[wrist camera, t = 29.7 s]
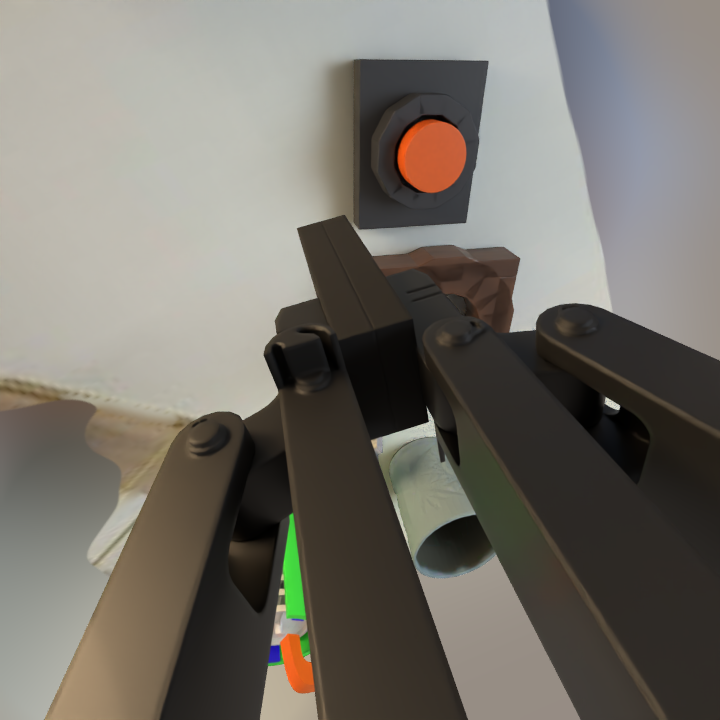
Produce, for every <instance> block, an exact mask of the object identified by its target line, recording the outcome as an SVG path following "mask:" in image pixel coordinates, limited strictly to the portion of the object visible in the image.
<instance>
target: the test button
mask: <svg viewBox="0 0 720 720" xmlns="http://www.w3.org/2000/svg"><path fill="white" fill-rule="evenodd" d="M465 161H466V145H465V141H464V138H463V136H462V135H461V133H460V132H459V130H458V129H457V128H455V127H454V126H453V125H451V124H449V123H446V122H442V121H439V120H434V119H427V120H423V121H420V122H418V123H416V124H414V125H413V126H412V127H410V128H409V129H408V130H407V132H406V133H405V134H404V136H403V137H402V139H401V142H400V144H399V147H398V152H397V163H398V168H399V171H400V173H401V175H402V176H403V178H404V179H405V180H406V181H407V182H408V183H409V184H411V185H412V186H414V187H415V188H417V189H418V190H420V191H422V192H426V193H436V192H440V191H443V190H445V189H446V188H448V187H449V186H451V185H452V184H453V183H454V182H455V181H456V180H457V179H458V177H459V176H460V174H461V172H462V170H463V168H464V165H465Z"/></svg>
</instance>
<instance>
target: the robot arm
mask: <svg viewBox="0 0 720 720" xmlns="http://www.w3.org/2000/svg"><path fill="white" fill-rule="evenodd" d="M297 230H298V234H299V237H300V240H301V244H302V247H303V251H304V254H305V257H306V261H307V264H308V267H309V271H310V274H311V278H312V281H313V284H314V288H315V291H316V294H317V298H316V299H313V300H309V301H306V302H302V303H299V304H296V305H292V306H289V307H285V308H282V309H281V310H280V312H279V314H278V316H277V318H276V320H275V325H276V332H277V335H276V336H275V337H273V338H272V339H271V340H270V342H269V343H268V344H267V345H266V347H265V351H264V357H265V360H266V362H267V364H268V367H269V369H270V372H271V374H272V376H273V379H274V381H275V384H276V386H277V388H278V393H279V394H278V395H277V396H276V398H275V399H274V400H273V401H272V402H271V403H270V404H269V405H268V406H266V407H265V408H263V409H262V410H260V411H259V412H257V413H255V414H253V415H252V416H250V417H248V418H246V419H245V420H242V419H241V417H240V416H239V415H237V414H234V413H232V412H215V413H211V414H208V415H204V416H202V417H200V418H198V419H197V420H195V421H193V422H191V423H190V424H188V425H187V426H186V427H185V428H184V429H183V430H182V431H180V432H179V434H178V435H177V436H176V438H175V439H174V441H173V442H172V444H171V446H170V448H169V450H168V453H167V455H166V457H165V459H164V461H163V463H162V466H161V468H160V470H159V472H158V474H157V476H156V479H155V481H154V483H153V485H152V487H151V489H150V492H149V494H148V496H147V498H146V500H145V502H144V505H143V507H142V509H141V511H140V513H139V515H138V518H137V520H136V522H135V524H134V526H133V528H132V531H131V533H130V535H129V537H128V539H127V541H126V544H125V546H124V548H123V550H122V552H121V554H120V557H119V559H118V561H117V563H116V565H115V567H114V570H113V572H112V574H111V576H110V578H109V580H108V583H107V585H106V587H105V589H104V592H103V593H102V596H101V598H100V600H99V602H98V604H97V607H96V609H95V611H94V613H93V615H92V617H91V619H90V622H89V624H88V626H87V628H86V630H85V633H84V635H83V637H82V639H81V641H80V643H79V646H78V648H77V650H76V652H75V654H74V657H73V659H72V661H71V663H70V665H69V667H68V670H67V672H66V674H65V676H64V678H63V680H62V682H61V685H60V687H59V689H58V691H57V693H56V695H55V698H54V700H53V702H52V704H51V706H50V708H49V711H48V713H47V715H46V717H45V719H44V720H260V713H261V707H262V700H263V694H264V688H265V680H266V675H267V668H268V661H269V655H270V648H271V642H272V635H273V629H274V622H275V616H276V609H277V602H278V596H279V589H280V583H281V576H282V570H283V563H284V557H285V550H286V543H287V537H288V530H289V524H290V517H289V515H291V514H292V513H293V516H294V524H295V532H296V541H297V549H298V557H299V565H300V573H301V581H302V590H303V598H304V606H305V614H306V622H307V631H308V639H309V647H310V655H311V663H312V672H313V680H314V688H315V696H316V704H317V713H318V720H468V719H467V716H466V713H465V710H464V707H463V704H462V701H461V699H460V696H459V693H458V690H457V687H456V684H455V681H454V678H453V675H452V672H451V670H450V667H449V664H448V661H447V658H446V655H445V652H444V650H443V646H442V644H441V641H440V638H439V635H438V632H437V629H436V626H435V623H434V620H433V618H432V615H431V612H430V609H429V606H428V603H427V600H426V597H425V595H424V592H423V589H422V586H421V583H420V580H419V577H418V574H417V571H416V569H415V566H414V563H413V560H412V557H411V554H410V551H409V548H408V546H407V543H406V540H405V537H404V534H403V531H402V528H401V525H400V522H399V520H398V517H397V514H396V511H395V508H394V505H393V502H392V499H391V497H390V494H389V491H388V488H387V485H386V482H385V479H384V476H383V473H382V471H381V468H380V465H379V462H378V459H377V456H376V453H375V450H374V448H373V445H372V442H371V440H373V439H376V438H380V437H383V436H386V435H389V434H392V433H395V432H399V431H402V430H405V429H408V428H411V427H414V426H418V425H421V424H424V423H427V422H429V420H428V413H427V408H428V410H429V412H430V413H431V415H432V417H433V419H434V424H435V431H436V438H437V445H438V452H439V457H440V462H441V463H442V462H445V455H446V457H447V459H448V461H449V463H450V465H451V467H452V469H453V471H454V473H455V475H456V477H457V479H458V481H459V482H460V484H461V486H462V488H463V490H464V492H465V494H466V496H467V498H468V500H469V502H470V504H471V506H472V508H473V510H474V512H475V514H476V516H477V518H478V520H479V522H480V524H481V525H482V527H483V529H484V531H485V533H486V535H487V537H488V539H489V541H490V543H491V545H492V547H493V549H494V551H495V553H496V555H497V557H498V558H499V561H500V563H501V565H502V566H503V568H504V570H505V572H506V574H507V576H508V578H509V580H510V582H511V584H512V586H513V587H514V590H515V592H516V594H517V596H518V598H519V600H520V602H521V604H522V606H523V608H524V610H525V611H526V613H527V615H528V617H529V619H530V621H531V623H532V625H533V627H534V629H535V631H536V633H537V635H538V637H539V639H540V641H541V643H542V645H543V647H544V649H545V651H546V652H547V654H548V656H549V658H550V660H551V662H552V664H553V666H554V668H555V670H556V672H557V674H558V676H559V678H560V680H561V682H562V684H563V686H564V688H565V690H566V691H567V693H568V695H569V697H570V699H571V701H572V703H573V705H574V707H575V709H576V711H577V713H578V715H579V717H580V719H581V720H720V361H719V360H717V359H715V358H712V357H710V356H708V355H706V354H703V353H701V352H699V351H697V350H694V349H692V348H690V347H688V346H685V345H683V344H681V343H679V342H676V341H674V340H672V339H670V338H667V337H665V336H663V335H661V334H658V333H656V332H654V331H652V330H649V329H647V328H645V327H643V326H640V325H638V324H636V323H634V322H631V321H629V320H627V319H625V318H622V317H620V316H618V315H616V314H613V313H611V312H609V311H607V310H604V309H602V308H598V307H595V306H592V305H586V304H577V303H573V304H564V305H558V306H555V307H552V308H549V309H547V310H546V311H544V312H543V313H542V314H540V315H539V317H538V320H537V322H536V330H533V331H523V332H512V333H497V332H495V331H494V330H493V328H492V327H491V326H490V325H489V324H487V323H486V322H484V321H483V320H481V319H478V318H474V317H470V316H463V315H462V314H461V313H460V312H459V311H458V309H457V308H456V307H455V306H454V305H453V304H452V302H451V301H450V300H449V299H448V298H447V297H446V295H445V294H444V293H442V291H441V290H440V288H439V287H438V286H437V285H436V284H435V283H434V281H433V280H432V279H431V278H430V277H429V276H428V274H425V273H423V272H420V271H418V270H415V269H410V270H406V271H403V272H400V273H396V274H393V275H389V276H386V277H385V275H384V274H383V272H382V271H381V269H380V268H379V266H378V265H377V263H376V262H375V260H374V259H373V257H372V256H371V254H370V253H369V251H368V250H367V248H366V247H365V245H364V244H363V242H362V241H361V239H360V238H359V236H358V235H357V233H356V231H355V230H354V228H353V227H352V225H351V224H350V222H349V221H348V219H347V218H346V216H345V215H342V216H339V217H335V218H332V219H328V220H324V221H321V222H317V223H314V224H310V225H307V226H303V227H300V228H297ZM606 397H607V398H609V399H610V400H612V401H614V402H615V403H617V404H619V405H620V410H615V409H613V408H611V407H609V406H607V405H606V404H604V403H605V398H606ZM426 406H427V407H426Z"/></svg>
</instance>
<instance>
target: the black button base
mask: <svg viewBox="0 0 720 720" xmlns="http://www.w3.org/2000/svg"><path fill="white" fill-rule="evenodd" d="M487 69H488V61H455V60H367V59H359V60H354V223H355V225H356V226H357V227H358V229H376V228H392V227H408V226H424V225H440V224H456V223H466V220H467V212H468V205H469V198H470V191H471V184H472V176H473V171H474V170H475V167H476V160H477V153H478V146H479V137H478V133H479V126H480V119H481V112H482V105H483V97H484V90H485V83H486V76H487ZM427 119H434V120H439V121H442V122H446V123H449V124H451V125H453V126H454V127H455V128H457V129H458V130H459V132H460V133H461V135H462V136H463V138H464V141H465V145H466V161H465V165H464V168H463V170H462V172H461V174H460V176H459V177H458V179H457V180H456V181H455V182H454V183H453V184H452V185H451V186H449V187H448V188H446V189H445V190H443V191H440V192H436V193H426V192H422V191H420V190H418V189H417V188H415V187H414V186H412V185H411V184H409V183H408V182H407V181H406V180H405V179H404V178H403V176H402V175H401V173H400V171H399V168H398V163H397V152H398V147H399V144H400V142H401V139H402V137H403V136H404V134H405V133H406V132H407V130H408V129H409V128H410V127H412V126H413V125H414V124H416V123H418V122H420V121H423V120H427Z"/></svg>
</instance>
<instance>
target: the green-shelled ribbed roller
mask: <svg viewBox="0 0 720 720" xmlns="http://www.w3.org/2000/svg"><path fill="white" fill-rule="evenodd" d="M289 517H290V524H289V530H288V537H287V543H286V550H285V557H284V563H283V570H282V576H281V583H280V589H279V596H278V602H277V609H276V616H275V622H274V629H273V635H272V642H271V648H270V655H269V661H268V666H274V665H281V664H284V665H285V670H286V674H287V676H288V680H289V682H290V684H291V686H292V688H293V689H294V690H295V691H296V692H298V693H310V692H315V688H314V680H313V672H312V663H311V662H307V661H306V660H305V659H304V657H305V656H307V655H309V654H310V647H309V639H308V631H307V622H306V614H305V606H304V598H303V590H302V581H301V573H300V565H299V557H298V549H297V541H296V532H295V524H294V516H293V513H292V514H291V515H289Z"/></svg>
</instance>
